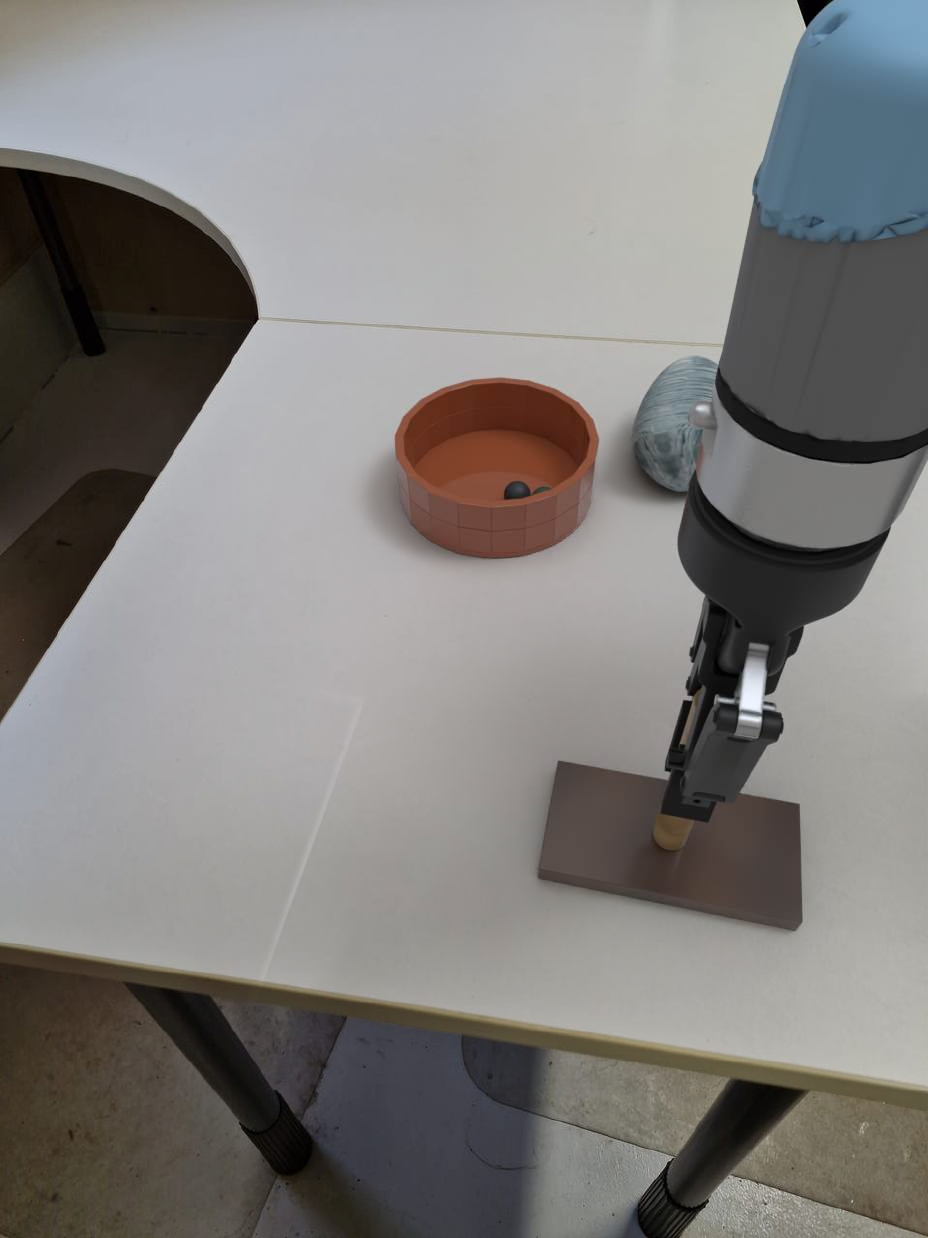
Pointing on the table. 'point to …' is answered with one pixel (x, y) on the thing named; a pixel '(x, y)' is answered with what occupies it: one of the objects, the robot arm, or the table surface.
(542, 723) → the table surface
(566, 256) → the table surface
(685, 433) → the blue yarn skein
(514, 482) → the bead
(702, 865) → the brown board
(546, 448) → the bowl
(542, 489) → the bead
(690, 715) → the stick
